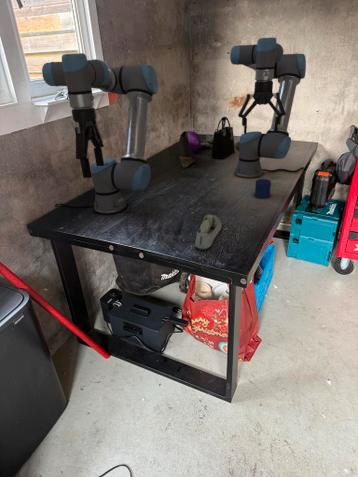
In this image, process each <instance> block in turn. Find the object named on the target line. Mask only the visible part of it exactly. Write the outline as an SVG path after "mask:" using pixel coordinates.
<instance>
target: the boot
mask: <svg viewBox="0 0 358 477" xmlns="http://www.w3.org/2000/svg"><path fill="white" fill-rule="evenodd" d="M187 131H188V130H186V131H185V130H183V131H182V133H180V135H179V139H178V141H180V144H179V148H180V149H179V153H178V154H179V161H180V164H181V167H182V168H183V169H184V168H188V167H189V166H190V165H191V164H194V163H195V162H196V161H197V156H196V154H195V152H194V153H193V152H192V151H191V148H190V144H189V140H188V135H187Z"/></svg>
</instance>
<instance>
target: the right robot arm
mask: <svg viewBox="0 0 358 477" xmlns="http://www.w3.org/2000/svg"><path fill="white" fill-rule="evenodd" d="M229 60H230V62H231V63H230V64H232V65H234V66H235V65H237V66H239V65H240V66H241V65H242V66H243V67H247V68H249V69H251V70H253V71H254V72H255V73H254V74H255V75H254V80H255V82H254V91H253V94H250V93H246V96H245V100H244V101H243V104H242V105H241V108H240V110H239V112H238V113H237V116H238V118H240V119H241V126H242V127H243V133H242V134H240V136H239V141H238V142H239V150H238V162H237V165H236V167H235V170H234V174H235V176H236V177H239V178H243V179H255V178H259V177H261V176H262V175H263V171H264V172H269V173H275V172H278V171H284V172H287V173H298V172H299V171H301V170H304V171H307V170H308V169H307V168H306V167H304V166H301V167H300V168H297V169H296V170H295V169H294V170H289V169H286V168H277V169H276V168H275V169H272V170H271V169H265V168H262V165H261V158H265V159H273V160H283V159H285V158H286V157H287V155H288V153H289V151H290V148H291V143H292V137H291V136H290V133H289V131H288V128H289V122H290V118H291V115H292V114H291V113H292V109H293V104H294V100H295V94H296V89H297V86H298V85H300V83H301V81H302V80H304V79H305V77H306V72H307V58H306V55H305V54H304V53H297V52H296V53H285V52H284V47H283V45H281V44H280V43H278V42H277V38H276V37H274V36H273V37H259V38H258V40H257V42H256V44H239V45H233V46H232V48H230V53H229ZM273 80H277V83H278V84H279V85H278V90H277V91H276V92H275V93H274V92H273V90H274V89H273V88H274V81H273ZM273 98H274V99H275V104H274V103H273V102H272V99H273ZM252 99H253V101H252V103H251V104H250V106H249V107H248V104H249V102H250V101H251V100H252ZM257 105H259V106H261V105H263V106H265V105H269V107H270V108H271V109H272V110H273V115H272V120H271V124H270V128H269V129H268V130H267V131H266V133H267V134H266V133H265V134H266V135H262V131H259V130H257V131H248V132H247V130H248V118H247V117H248V116H249V114H250V113H251V112H252V111H253V110H254V108H256V106H257ZM247 107H248V108H247ZM246 109H247V110H246Z"/></svg>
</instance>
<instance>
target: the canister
mask: <svg viewBox="0 0 358 477" xmlns="http://www.w3.org/2000/svg"><path fill="white" fill-rule="evenodd" d="M271 185H272V181H271V180H270V179H267V178H259V179H256V180H255V188H254V197H255V198H257V199H269V197H270V196H271Z"/></svg>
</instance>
